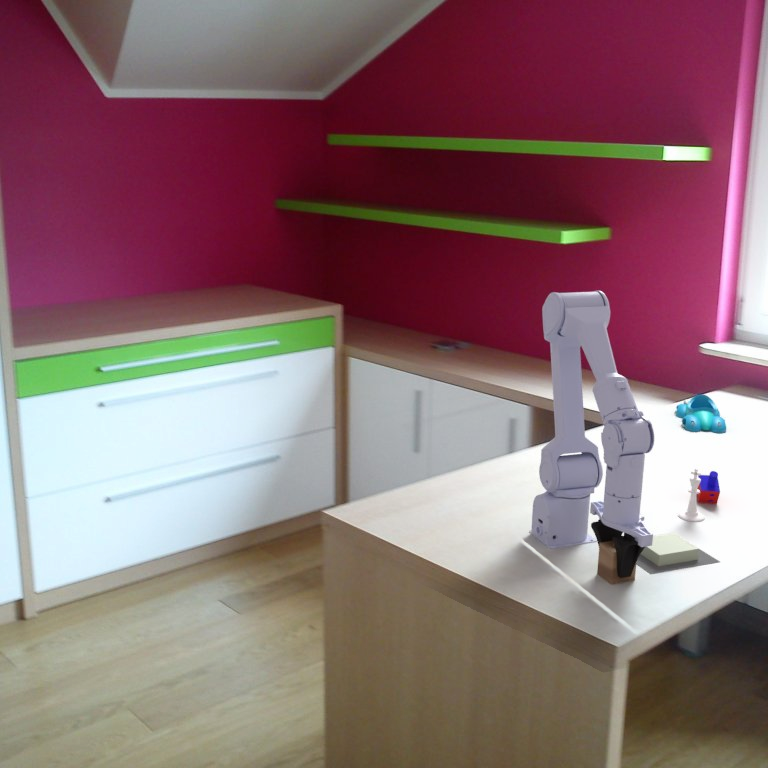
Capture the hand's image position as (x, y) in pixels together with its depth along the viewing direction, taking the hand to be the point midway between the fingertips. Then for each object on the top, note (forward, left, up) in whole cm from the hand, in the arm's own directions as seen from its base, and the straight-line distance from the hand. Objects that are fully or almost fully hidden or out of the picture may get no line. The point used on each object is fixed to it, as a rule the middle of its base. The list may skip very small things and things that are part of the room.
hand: (616, 570), depth 160 cm
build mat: (+13, +5, -2) cm, 14 cm away
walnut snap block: (0, 0, -2) cm, 2 cm away
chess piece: (+28, +17, -2) cm, 33 cm away
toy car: (+70, +68, -2) cm, 98 cm away
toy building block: (+37, +24, -2) cm, 44 cm away
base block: (+13, +5, -1) cm, 14 cm away
